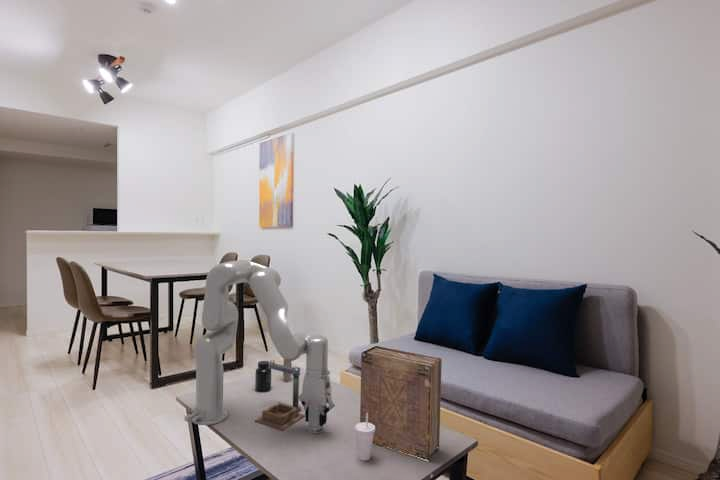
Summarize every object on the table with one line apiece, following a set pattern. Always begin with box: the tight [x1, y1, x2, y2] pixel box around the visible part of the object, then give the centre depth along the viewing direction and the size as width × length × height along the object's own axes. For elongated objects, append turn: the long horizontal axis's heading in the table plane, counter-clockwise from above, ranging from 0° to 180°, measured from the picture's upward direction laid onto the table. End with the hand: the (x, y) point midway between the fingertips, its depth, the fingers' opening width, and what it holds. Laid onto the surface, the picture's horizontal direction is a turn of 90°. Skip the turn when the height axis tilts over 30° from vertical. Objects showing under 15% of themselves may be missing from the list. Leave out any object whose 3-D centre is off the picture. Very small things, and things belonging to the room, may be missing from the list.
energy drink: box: [307, 398, 324, 435], centre depth 144 cm, size 5×5×12 cm
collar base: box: [254, 375, 305, 432], centre depth 154 cm, size 18×13×14 cm
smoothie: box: [354, 413, 375, 461], centre depth 128 cm, size 6×6×14 cm
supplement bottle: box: [254, 360, 272, 393], centre depth 180 cm, size 7×7×12 cm
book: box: [359, 345, 443, 460], centre depth 136 cm, size 25×9×30 cm, turn 58°
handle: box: [282, 358, 293, 382], centre depth 191 cm, size 5×6×15 cm
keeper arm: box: [268, 359, 301, 377], centre depth 163 cm, size 15×3×3 cm, turn 61°
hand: (315, 421), depth 144 cm, fingers closed on energy drink, 5 cm apart
